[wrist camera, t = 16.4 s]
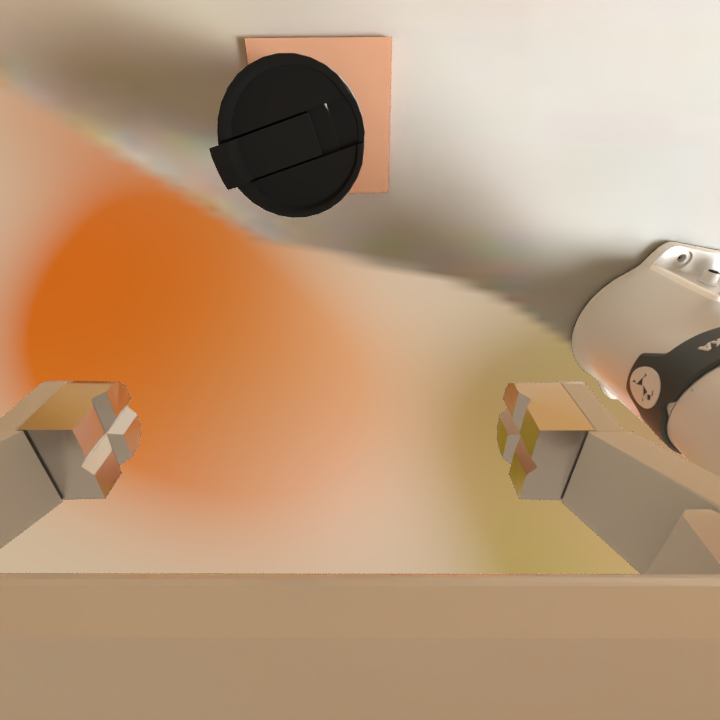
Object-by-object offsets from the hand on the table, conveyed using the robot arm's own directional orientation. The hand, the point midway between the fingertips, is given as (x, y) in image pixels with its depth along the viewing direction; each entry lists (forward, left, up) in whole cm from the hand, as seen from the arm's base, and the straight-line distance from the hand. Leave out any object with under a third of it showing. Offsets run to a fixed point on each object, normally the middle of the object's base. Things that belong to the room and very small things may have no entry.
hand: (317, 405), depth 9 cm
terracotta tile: (+1, -4, -33) cm, 33 cm away
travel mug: (+2, -4, -32) cm, 33 cm away
